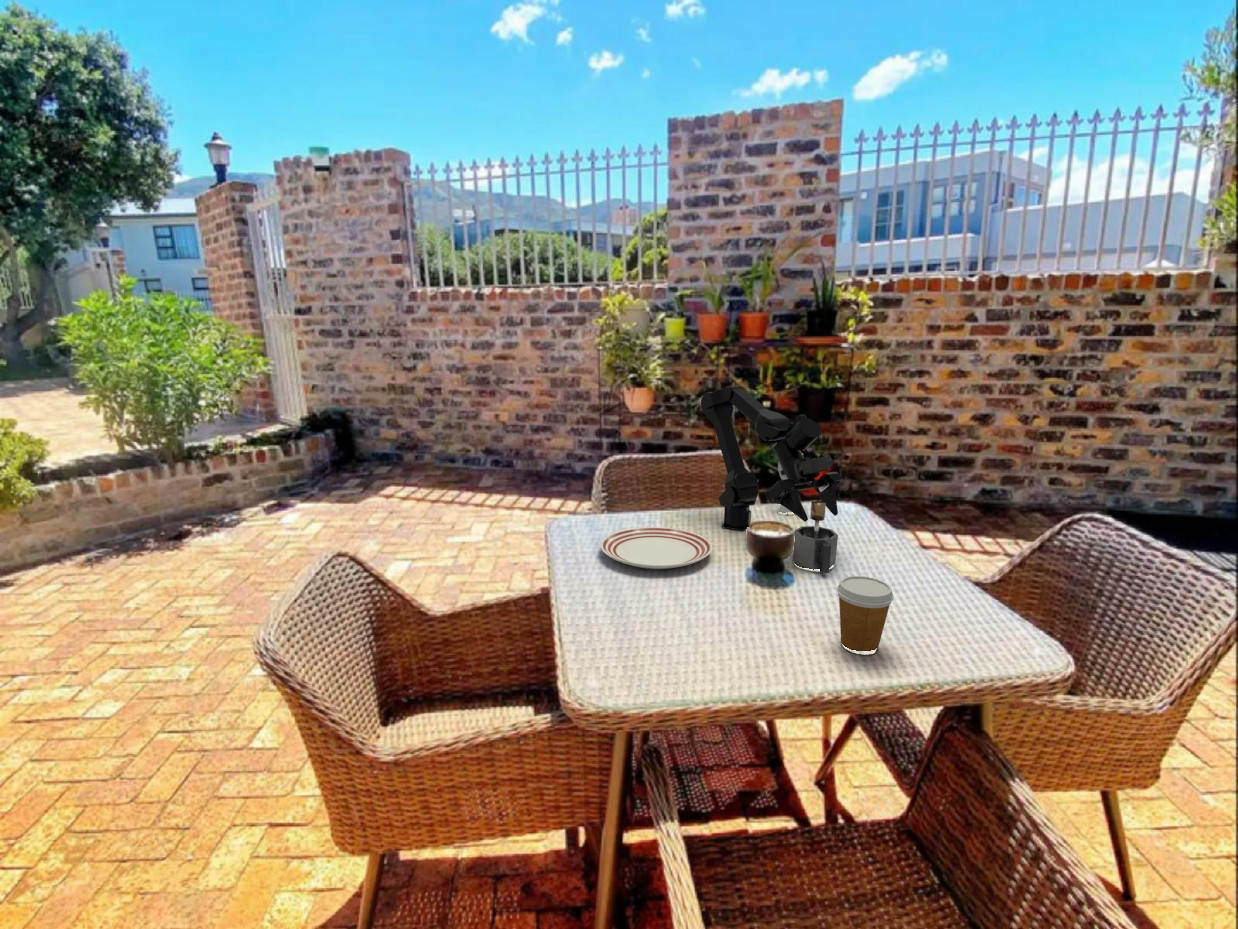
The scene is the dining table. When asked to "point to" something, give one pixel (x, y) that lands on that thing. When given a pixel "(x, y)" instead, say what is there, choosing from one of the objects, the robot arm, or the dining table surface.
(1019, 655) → the dining table surface
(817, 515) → the plunger
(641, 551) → the dinner plate
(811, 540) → the press carafe
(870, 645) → the disposable coffee cup
